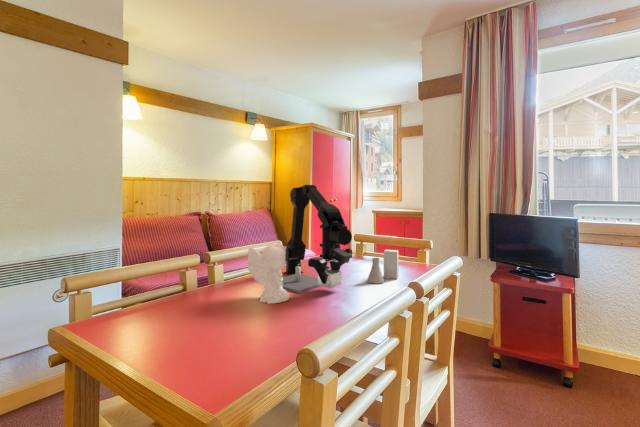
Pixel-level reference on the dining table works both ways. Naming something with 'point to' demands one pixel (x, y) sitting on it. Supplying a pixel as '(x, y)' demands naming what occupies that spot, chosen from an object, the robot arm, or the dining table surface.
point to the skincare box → (391, 264)
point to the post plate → (299, 282)
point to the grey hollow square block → (331, 279)
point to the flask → (375, 272)
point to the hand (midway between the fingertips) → (329, 281)
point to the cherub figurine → (269, 272)
